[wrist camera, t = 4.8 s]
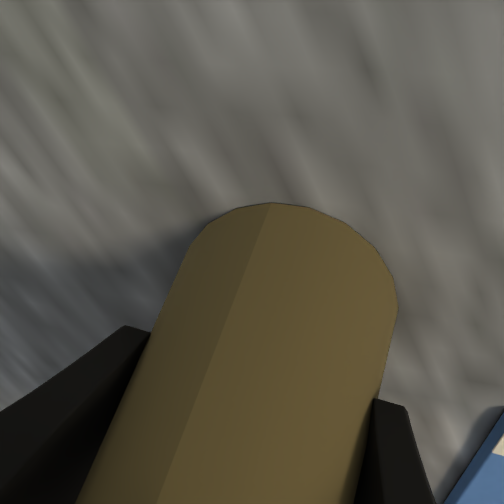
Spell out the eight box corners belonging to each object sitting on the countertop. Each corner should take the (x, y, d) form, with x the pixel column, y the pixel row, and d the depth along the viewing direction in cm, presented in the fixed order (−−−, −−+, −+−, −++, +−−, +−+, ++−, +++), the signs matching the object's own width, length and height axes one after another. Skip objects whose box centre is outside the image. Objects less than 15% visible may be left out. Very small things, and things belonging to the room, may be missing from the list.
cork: (359, 406, 14) (290, 1155, 5) (173, 345, 15) (-158, 915, 6) (435, 242, 11) (584, 1489, 2) (192, 174, 12) (-475, 879, 3)
